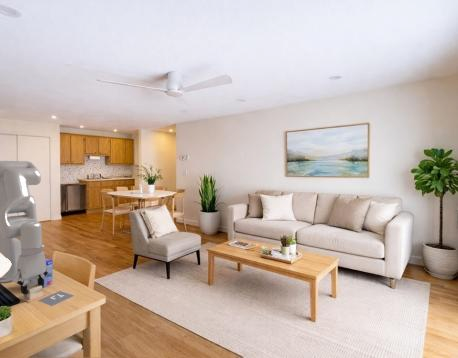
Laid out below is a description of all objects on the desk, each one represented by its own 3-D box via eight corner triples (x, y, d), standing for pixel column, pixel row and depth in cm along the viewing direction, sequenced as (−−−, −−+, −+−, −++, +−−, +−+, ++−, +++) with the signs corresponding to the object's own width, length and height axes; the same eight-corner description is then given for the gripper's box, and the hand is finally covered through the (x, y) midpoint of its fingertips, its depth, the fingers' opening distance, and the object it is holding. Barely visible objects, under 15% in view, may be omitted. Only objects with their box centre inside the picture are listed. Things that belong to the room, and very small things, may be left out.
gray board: (37, 300, 118) (37, 300, 118) (60, 291, 127) (60, 290, 127) (52, 306, 114) (52, 305, 114) (74, 295, 123) (74, 295, 123)
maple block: (23, 297, 120) (23, 288, 120) (35, 292, 125) (35, 283, 125) (30, 299, 118) (30, 290, 118) (42, 294, 123) (42, 286, 122)
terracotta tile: (19, 298, 120) (19, 297, 120) (36, 292, 126) (36, 291, 126) (29, 302, 117) (29, 301, 117) (46, 295, 123) (46, 294, 123)
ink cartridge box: (53, 283, 136) (53, 254, 135) (44, 288, 130) (43, 258, 129) (37, 281, 138) (36, 252, 137) (26, 286, 132) (26, 256, 131)
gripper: (46, 244, 130) (47, 281, 131) (4, 255, 114) (5, 297, 115) (56, 246, 126) (57, 284, 127) (14, 258, 111) (15, 301, 112)
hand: (32, 290), depth 121 cm, fingers open, 6 cm apart
